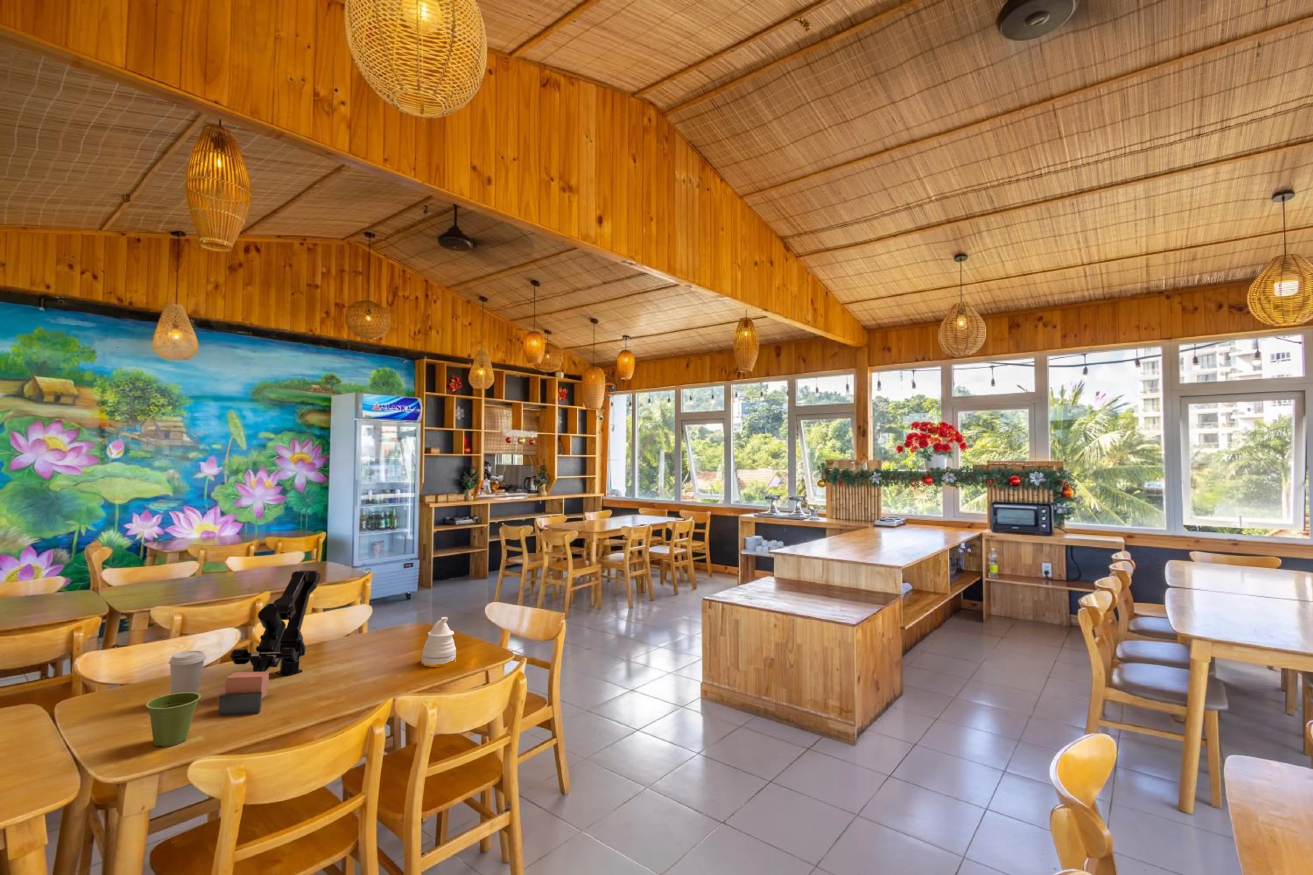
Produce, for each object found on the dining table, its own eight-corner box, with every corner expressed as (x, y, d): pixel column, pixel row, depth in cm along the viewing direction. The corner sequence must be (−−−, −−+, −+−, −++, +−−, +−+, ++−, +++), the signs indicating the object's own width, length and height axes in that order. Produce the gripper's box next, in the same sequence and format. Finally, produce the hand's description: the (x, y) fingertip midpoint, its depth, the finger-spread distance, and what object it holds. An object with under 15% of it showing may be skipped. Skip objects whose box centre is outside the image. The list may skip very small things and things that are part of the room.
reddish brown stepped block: (231, 705, 189) (234, 672, 190) (266, 703, 191) (269, 671, 192) (223, 711, 184) (226, 677, 185) (259, 709, 186) (262, 676, 187)
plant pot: (131, 746, 160) (135, 703, 161) (180, 729, 171) (183, 689, 172) (159, 755, 156) (163, 710, 157) (207, 737, 167) (210, 696, 168)
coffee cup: (160, 709, 185) (165, 659, 186) (169, 698, 193) (173, 651, 194) (199, 704, 189) (203, 656, 190) (205, 694, 198) (209, 648, 199)
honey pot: (462, 661, 242) (464, 616, 243) (435, 669, 231) (438, 622, 232) (441, 655, 249) (444, 611, 250) (414, 663, 238) (417, 617, 239)
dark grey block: (240, 698, 196) (241, 679, 196) (277, 696, 198) (278, 678, 198) (218, 715, 182) (219, 695, 182) (258, 713, 184) (259, 693, 184)
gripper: (306, 647, 212) (292, 690, 201) (248, 648, 208) (230, 692, 197) (300, 631, 205) (285, 675, 194) (239, 632, 201) (220, 676, 190)
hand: (255, 680), depth 194 cm, fingers closed
